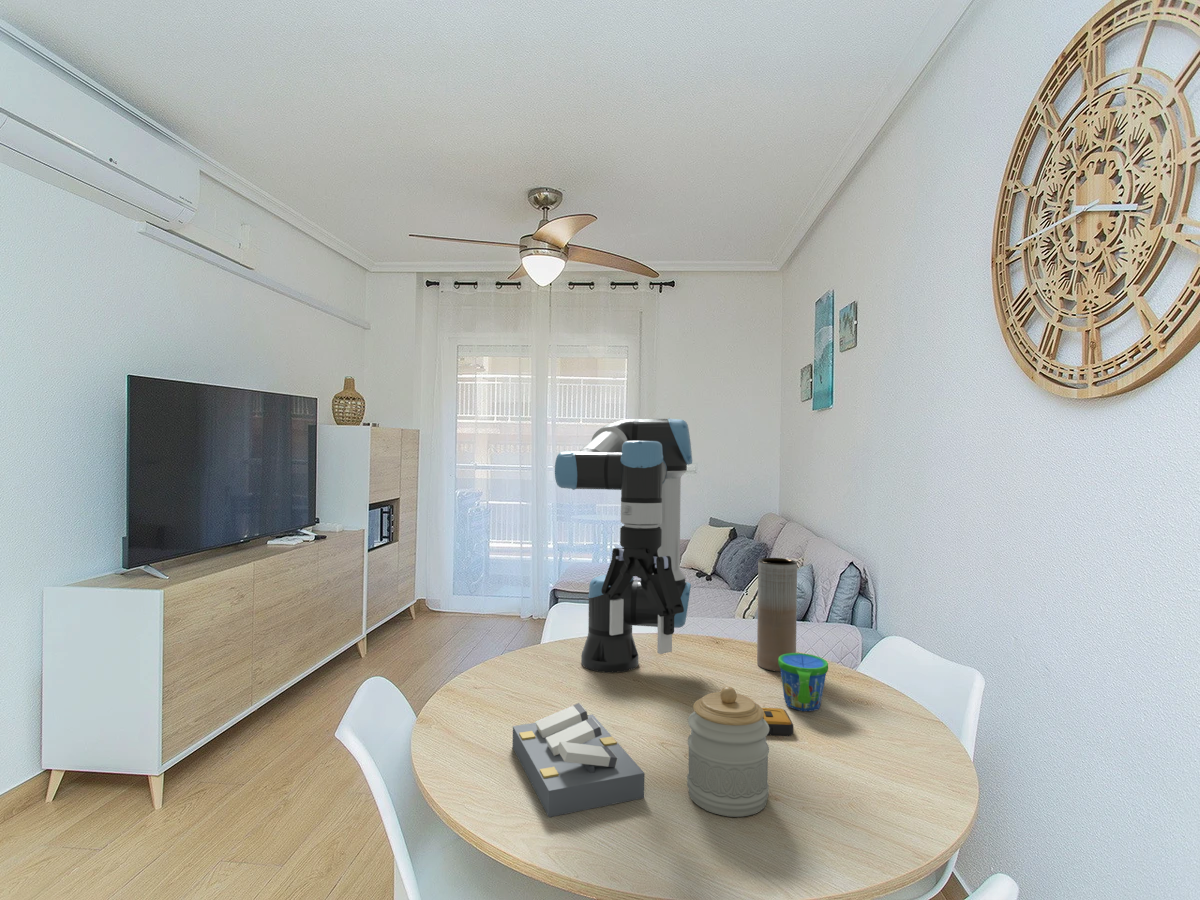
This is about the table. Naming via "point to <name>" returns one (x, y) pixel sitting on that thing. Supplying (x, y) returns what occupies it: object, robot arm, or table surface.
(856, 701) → the table surface
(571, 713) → the rocker far
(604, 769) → the switch unit
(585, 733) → the rocker mid
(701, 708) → the jar
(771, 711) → the electronic device
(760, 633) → the vase
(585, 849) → the table surface
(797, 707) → the snack cup
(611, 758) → the rocker near
